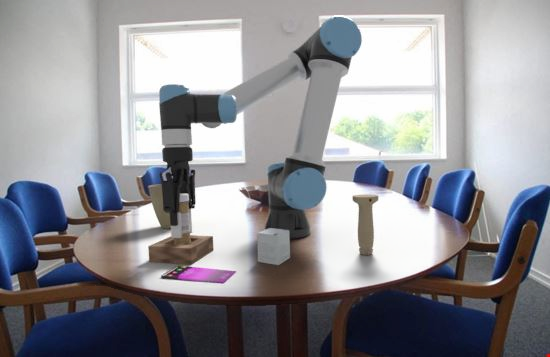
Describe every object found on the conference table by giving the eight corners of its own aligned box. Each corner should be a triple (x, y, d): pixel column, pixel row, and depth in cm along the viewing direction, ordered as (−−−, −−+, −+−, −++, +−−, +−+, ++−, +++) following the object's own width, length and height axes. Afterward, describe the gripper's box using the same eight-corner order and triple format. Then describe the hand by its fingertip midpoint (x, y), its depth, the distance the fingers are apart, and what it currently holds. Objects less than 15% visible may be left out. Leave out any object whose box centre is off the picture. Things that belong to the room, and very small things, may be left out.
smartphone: (178, 268, 79) (178, 264, 79) (236, 273, 75) (236, 269, 75) (160, 280, 72) (160, 275, 72) (223, 285, 68) (223, 281, 68)
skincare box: (270, 255, 86) (269, 227, 86) (290, 258, 83) (290, 229, 83) (257, 262, 81) (256, 232, 81) (278, 265, 78) (277, 235, 78)
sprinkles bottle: (190, 241, 91) (187, 192, 90) (192, 245, 86) (189, 194, 85) (172, 243, 89) (170, 193, 88) (173, 247, 85) (170, 195, 84)
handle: (382, 255, 83) (381, 196, 82) (359, 257, 82) (358, 197, 81) (372, 249, 88) (371, 194, 87) (350, 252, 87) (349, 195, 85)
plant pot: (200, 224, 127) (198, 183, 126) (169, 232, 115) (166, 187, 114) (173, 221, 135) (171, 182, 134) (142, 228, 123) (139, 186, 122)
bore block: (213, 250, 92) (212, 236, 92) (191, 264, 81) (190, 248, 80) (175, 248, 95) (174, 234, 95) (149, 261, 84) (148, 246, 84)
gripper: (182, 147, 95) (186, 227, 97) (143, 146, 78) (149, 243, 80) (205, 146, 93) (209, 228, 95) (170, 145, 76) (176, 244, 78)
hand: (182, 234), depth 88 cm, fingers closed on sprinkles bottle, 4 cm apart
